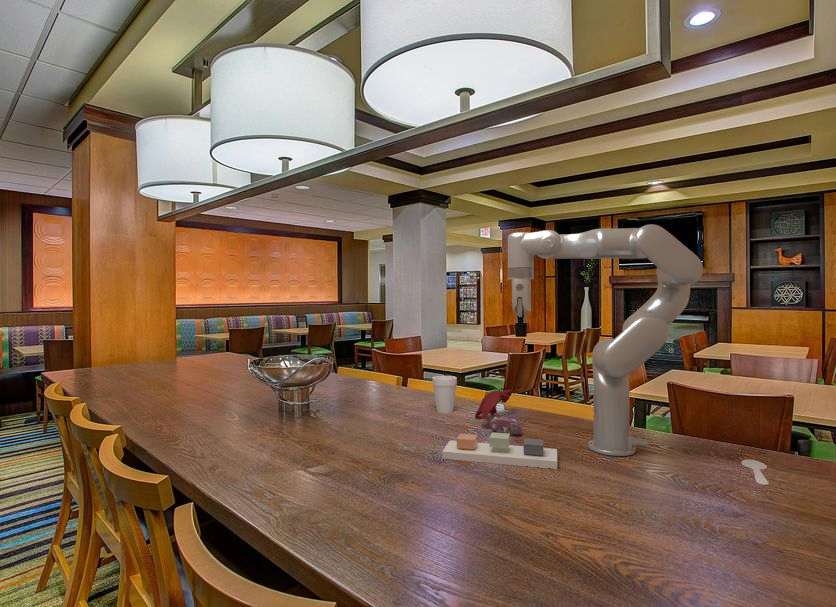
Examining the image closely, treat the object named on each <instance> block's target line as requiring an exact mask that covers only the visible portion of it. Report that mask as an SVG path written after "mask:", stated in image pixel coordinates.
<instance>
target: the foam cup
mask: <svg viewBox="0 0 836 607" xmlns="http://www.w3.org/2000/svg"><path fill="white" fill-rule="evenodd" d="M457 384H458V378H457V376H453V375H434V376H432V386H433V394H434V400H435V401H434V402H435V408H436V413H438V412H439V414H451V412H452V413H453V412H454V409H455V408H454V406H455V398H456V390H457Z"/></svg>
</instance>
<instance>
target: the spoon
mask: <svg viewBox="0 0 836 607" xmlns="http://www.w3.org/2000/svg"><path fill="white" fill-rule="evenodd" d="M740 463H741V465H742V466H743V467H746V468H749V469H752V471H753V475H754V478H755V482H756V483H757V484H759V485H764V486H768V485H770V484H769V481H768V480H767V478H766V477H765V476H764V474H763V473H762V471H761V470H766V469H767V468H768V466H767V465H766V464H765V463H763V462H761V461H758V460H755V459H746V458H745V459H743V460H742V461H741V462H740Z"/></svg>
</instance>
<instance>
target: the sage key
mask: <svg viewBox="0 0 836 607" xmlns="http://www.w3.org/2000/svg"><path fill="white" fill-rule="evenodd" d="M488 439H489V440H488V441H489V442H488V443H489V447H497V448H509V445H511V435H510V434H507V433H506V432H503V433H497V432H495V431H493V432H491V433H490V435H489V438H488Z"/></svg>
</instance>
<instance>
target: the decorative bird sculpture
mask: <svg viewBox="0 0 836 607" xmlns="http://www.w3.org/2000/svg"><path fill="white" fill-rule="evenodd" d="M513 393H514V389H506V390H499V389H498V390H493V391H490V392H489V393H487V394H486V395H485V396H483V398H482V400H481V402H480V403H479V404H480V405H479V407H478V408H477V410H476V413H475V415H474V418H476V417H477V418H478V417H480V415H481V417H480V418H481V419H482V421H484V420H485V419H486V418H487V416H488V415H490V416H493V417H498V418H499V417H503V415H502V416H500V415H499V414H498V410H497V405H498V404H499V403H500V402H501V403H507V401H508V400H510V398H511V396H512V394H513ZM496 415H497V416H496ZM477 418H476V419H477Z"/></svg>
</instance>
